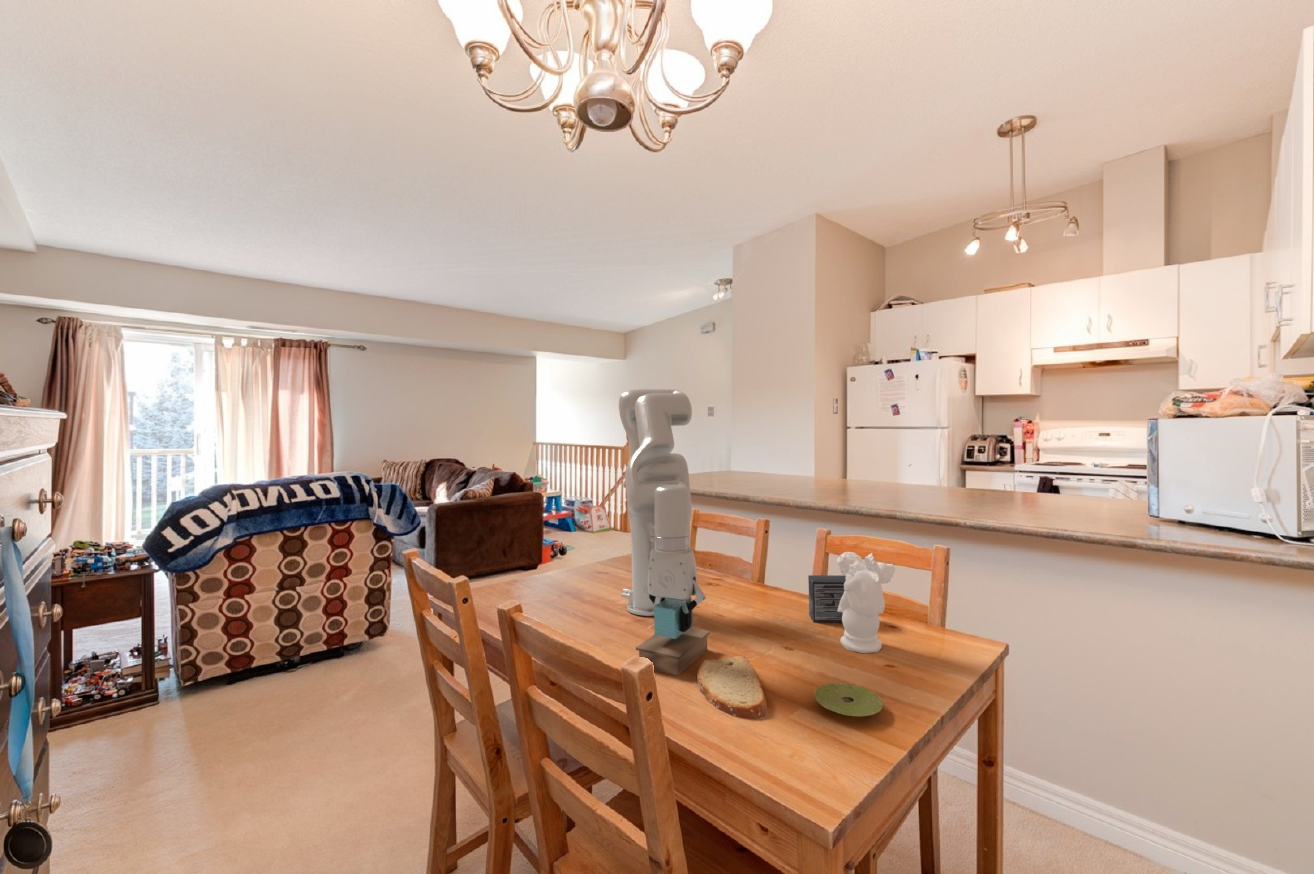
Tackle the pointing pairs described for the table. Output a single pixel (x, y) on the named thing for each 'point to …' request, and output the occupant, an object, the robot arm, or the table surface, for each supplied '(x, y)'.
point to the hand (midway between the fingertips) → (674, 626)
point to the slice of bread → (732, 687)
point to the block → (668, 618)
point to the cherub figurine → (862, 601)
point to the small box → (825, 597)
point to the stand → (674, 650)
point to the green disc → (848, 699)
